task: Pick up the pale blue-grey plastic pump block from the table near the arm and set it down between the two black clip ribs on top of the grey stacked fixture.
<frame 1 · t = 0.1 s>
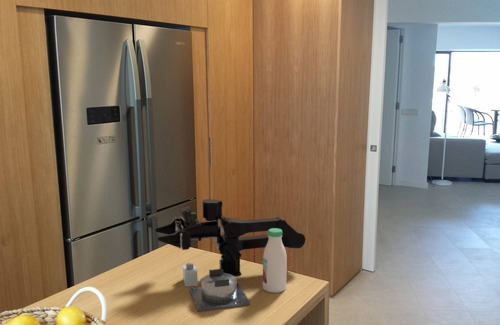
hand: (156, 234, 154), 17 cm above the table, tool horizontal, fingers open, 9 cm apart
milk bottle: (274, 288, 152), on the table
pump: (190, 282, 156), on the table
grey stacked fixture: (219, 297, 145), on the table
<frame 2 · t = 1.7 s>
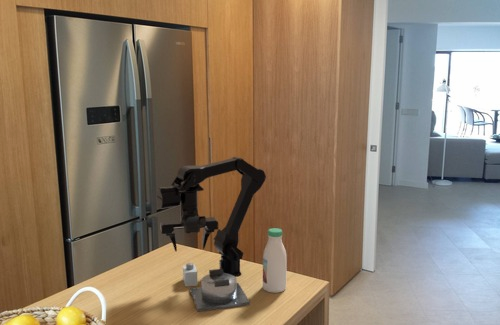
hand: (189, 249, 154), 11 cm above the table, tool pointing down, fingers open, 9 cm apart
nothing on the table moved.
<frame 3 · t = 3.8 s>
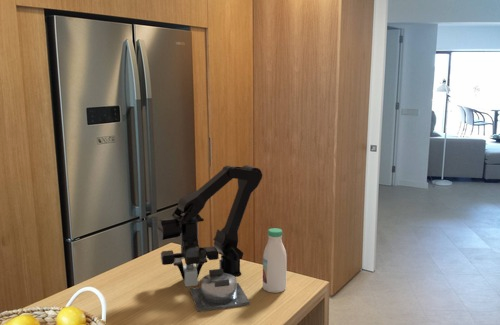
hand: (190, 279, 156), 1 cm above the table, tool pointing down, fingers closed on pump, 4 cm apart
pump: (190, 282, 156), on the table, touching gripper
everything else where it was.
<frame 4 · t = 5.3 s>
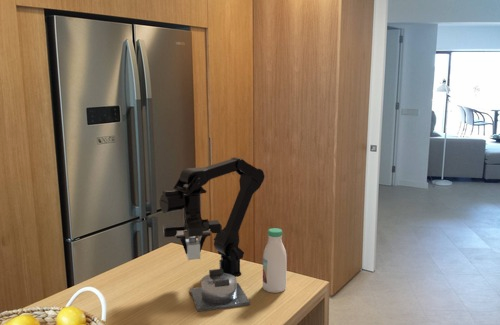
hand: (192, 253, 153), 11 cm above the table, tool pointing down, fingers closed on pump, 4 cm apart
pump: (192, 256, 153), point 10 cm above the table, touching gripper
everything else where it was.
when the fingers open (8 cm above the table, at t = 7.2 s): pump drops 1 cm, resting on grey stacked fixture.
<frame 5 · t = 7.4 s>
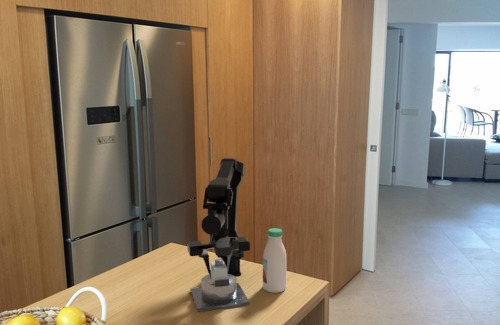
hand: (219, 272, 143), 8 cm above the table, tool pointing down, fingers open, 6 cm apart
pump: (219, 280, 144), point 6 cm above the table, touching grey stacked fixture
everything else where it was.
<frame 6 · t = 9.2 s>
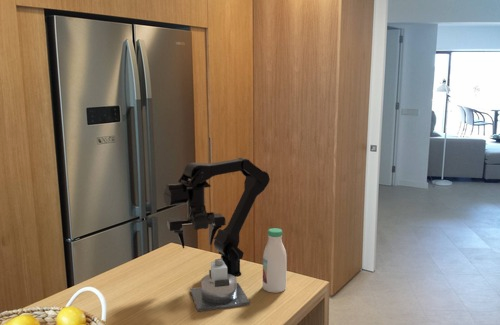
hand: (196, 246, 155), 12 cm above the table, tool pointing down, fingers open, 9 cm apart
nothing on the table moved.
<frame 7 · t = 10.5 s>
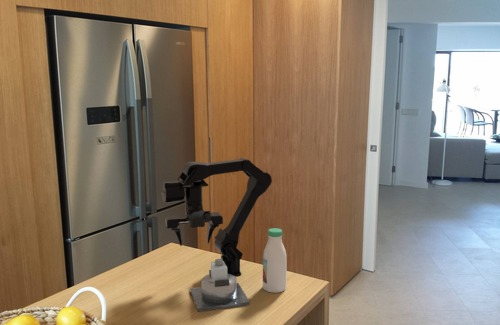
hand: (194, 244, 156), 12 cm above the table, tool pointing down, fingers open, 9 cm apart
nothing on the table moved.
at the end: pump 0.0 cm off-centre on the grey stacked fixture, point 6.0 cm above the grey stacked fixture's base; pump tilted 0°; the gripper is holding nothing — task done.
